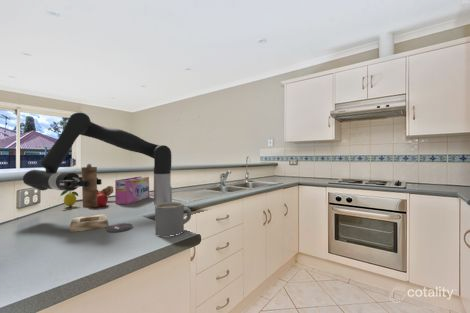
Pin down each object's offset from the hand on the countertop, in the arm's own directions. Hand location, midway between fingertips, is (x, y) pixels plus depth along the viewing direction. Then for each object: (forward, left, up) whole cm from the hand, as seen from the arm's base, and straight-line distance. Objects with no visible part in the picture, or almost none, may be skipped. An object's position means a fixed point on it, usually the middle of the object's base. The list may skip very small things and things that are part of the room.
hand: (94, 182), depth 94 cm
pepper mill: (+2, -2, -10) cm, 10 cm away
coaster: (-8, +8, -17) cm, 21 cm away
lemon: (+12, -47, -17) cm, 52 cm away
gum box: (-20, -49, -18) cm, 56 cm away
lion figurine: (-3, -57, -17) cm, 59 cm away
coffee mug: (-25, +23, -17) cm, 38 cm away
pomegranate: (-1, -41, -17) cm, 45 cm away
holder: (+2, -2, -17) cm, 17 cm away
